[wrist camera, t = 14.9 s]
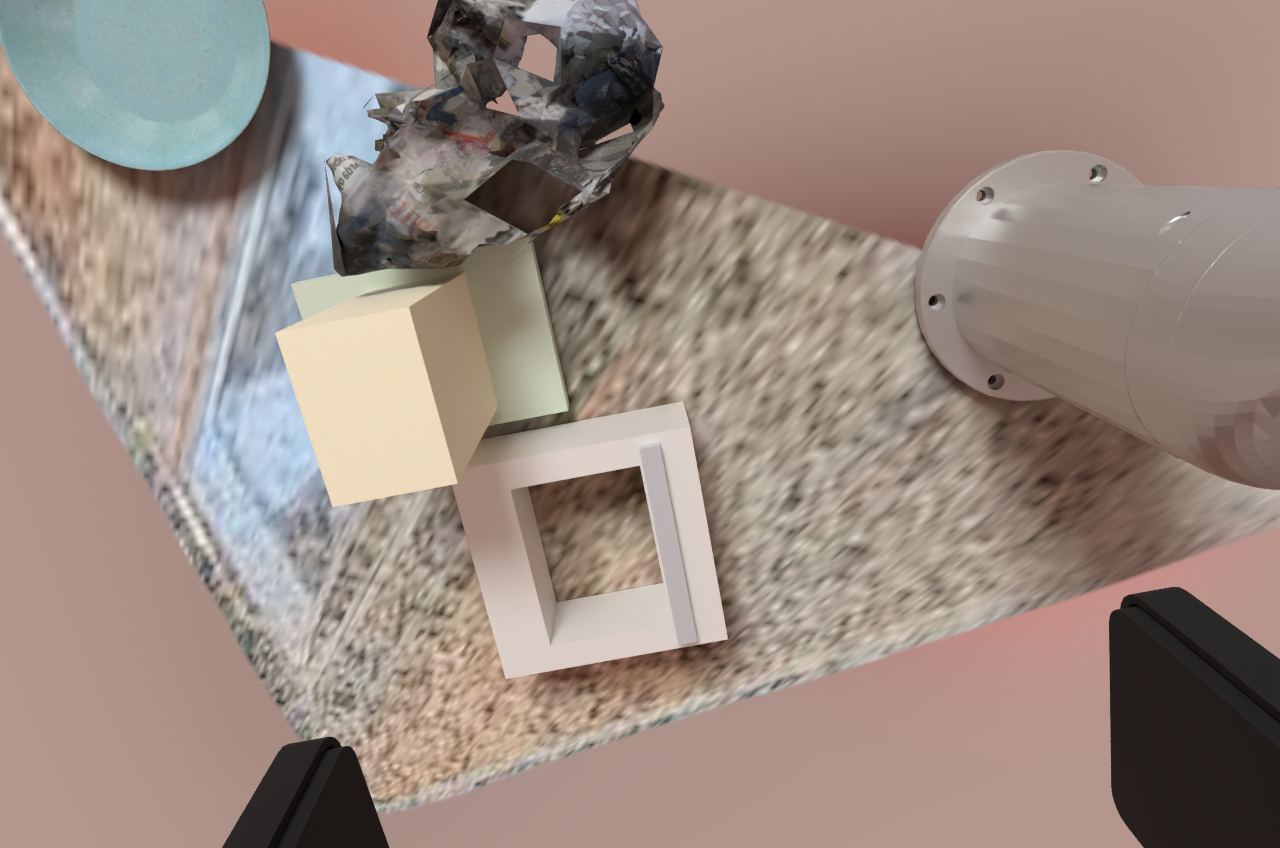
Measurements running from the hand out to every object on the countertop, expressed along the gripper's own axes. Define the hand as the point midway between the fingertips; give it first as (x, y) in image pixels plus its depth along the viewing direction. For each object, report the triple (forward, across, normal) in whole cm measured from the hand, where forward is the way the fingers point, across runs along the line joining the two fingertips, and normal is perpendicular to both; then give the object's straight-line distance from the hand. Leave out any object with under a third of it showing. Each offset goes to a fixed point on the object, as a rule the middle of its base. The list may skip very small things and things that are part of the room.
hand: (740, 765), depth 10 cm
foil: (+34, +5, -10) cm, 36 cm away
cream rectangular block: (+32, +11, 0) cm, 34 cm away
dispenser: (+33, +5, +11) cm, 35 cm away
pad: (+33, +11, 0) cm, 35 cm away
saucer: (+34, +20, -17) cm, 43 cm away
